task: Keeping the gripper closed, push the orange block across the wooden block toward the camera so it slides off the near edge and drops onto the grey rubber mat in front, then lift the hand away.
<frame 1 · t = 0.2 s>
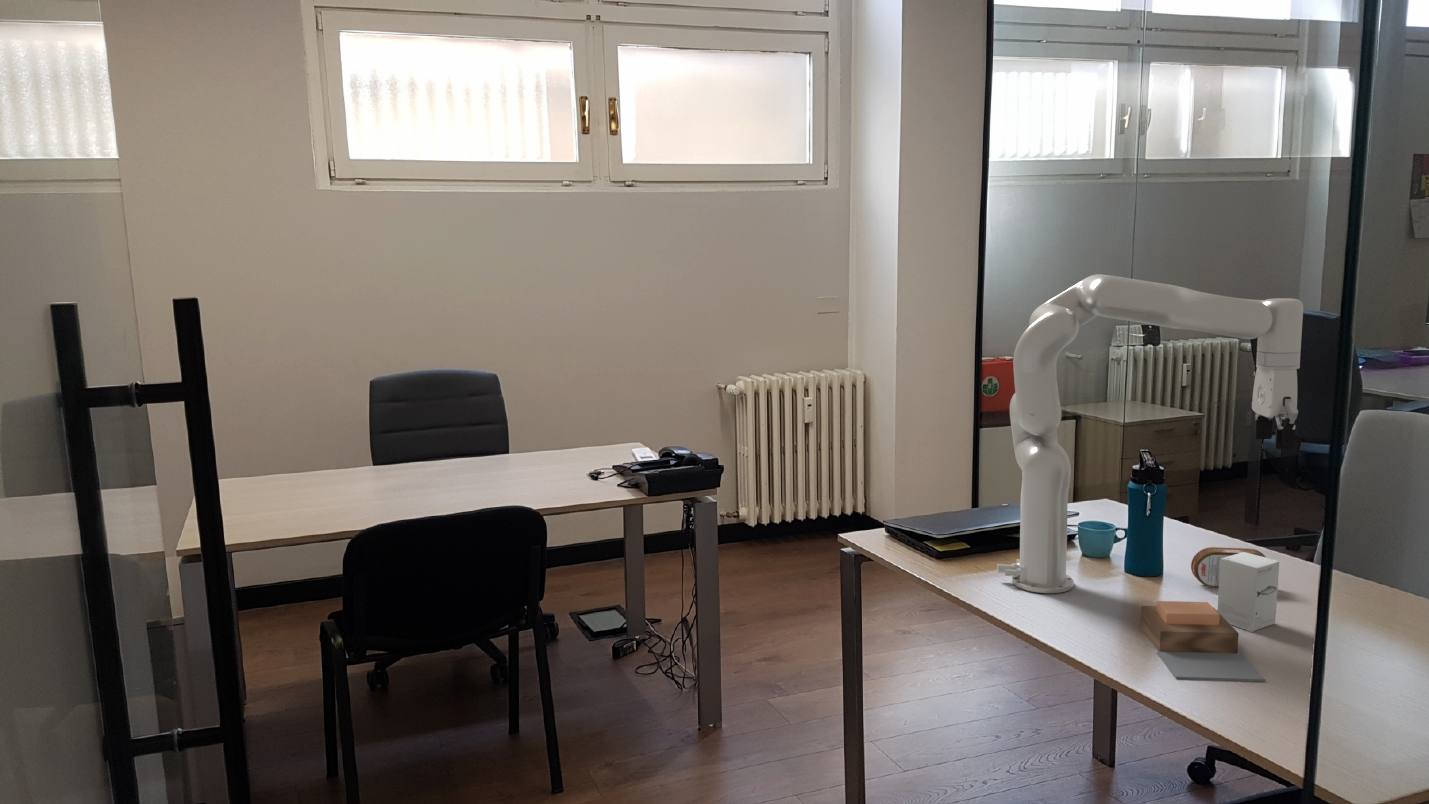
hand: (1273, 443, 192), 31 cm above the table, fingers open, 9 cm apart
mat: (1209, 666, 162), on the table
wooden block: (1186, 639, 173), on the table
supplement box: (1245, 623, 180), on the table
orange block: (1186, 617, 173), point 4 cm above the table, touching wooden block
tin: (1230, 588, 198), on the table
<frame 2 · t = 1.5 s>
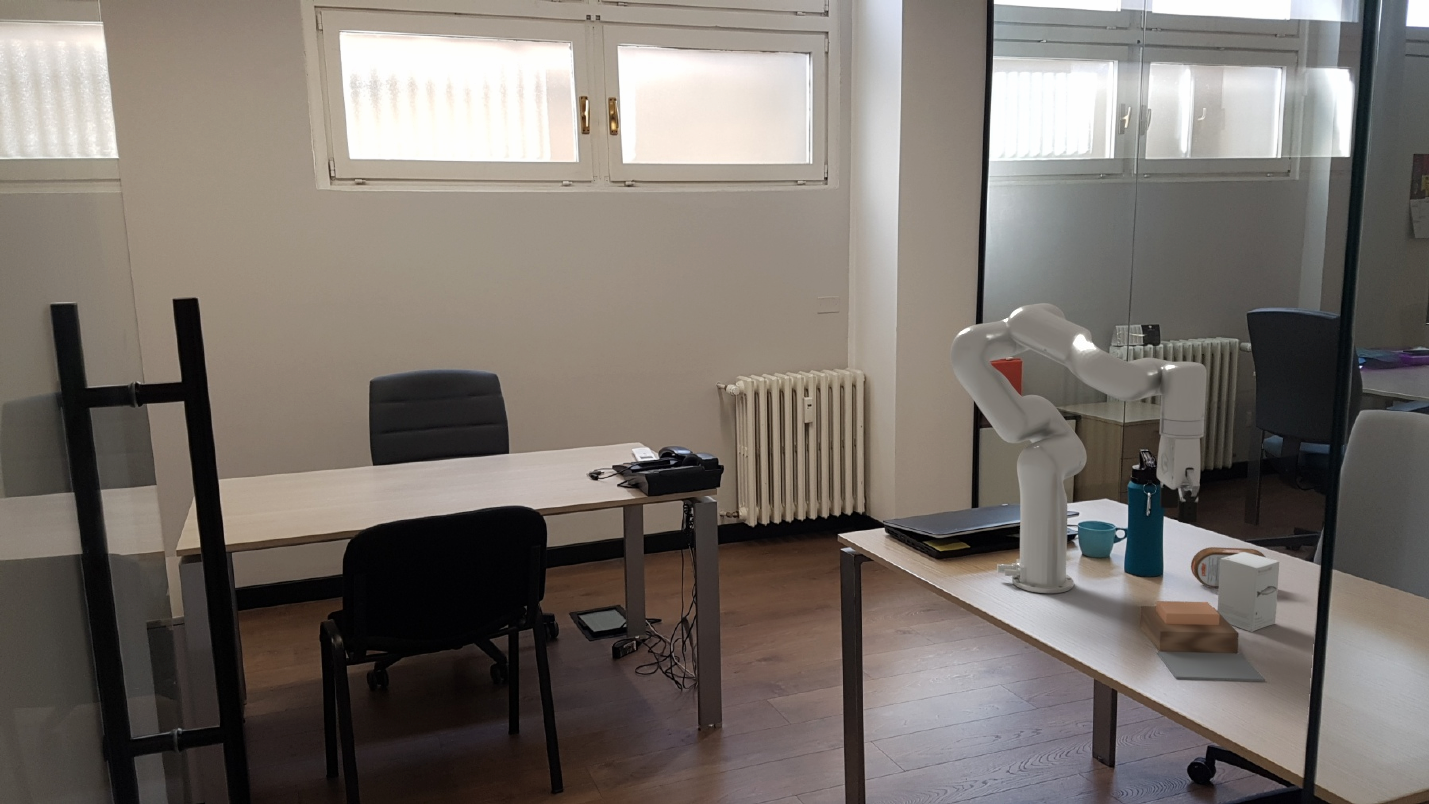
hand: (1177, 514, 181), 21 cm above the table, fingers open, 9 cm apart
nothing on the table moved.
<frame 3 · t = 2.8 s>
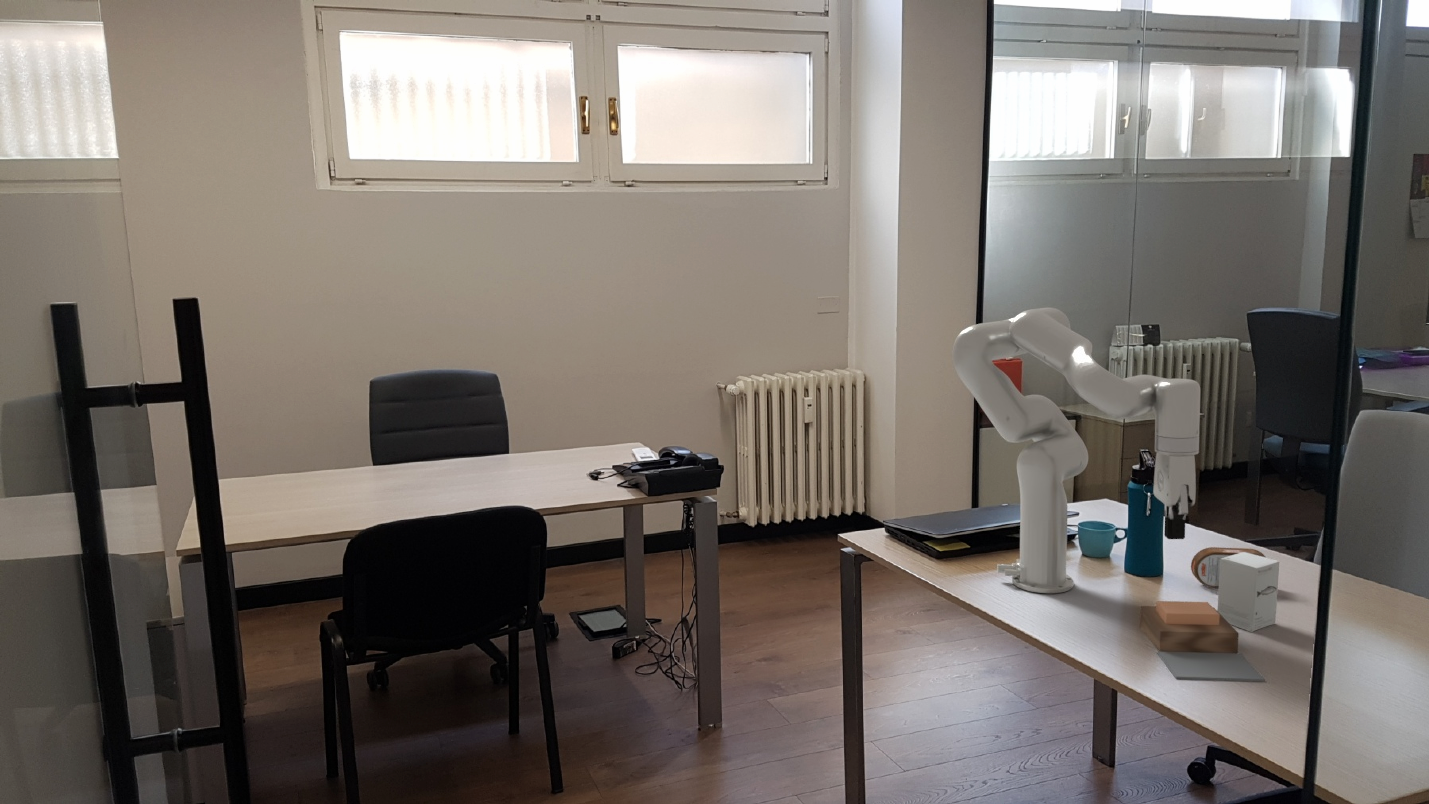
hand: (1174, 537, 181), 16 cm above the table, fingers closed
nothing on the table moved.
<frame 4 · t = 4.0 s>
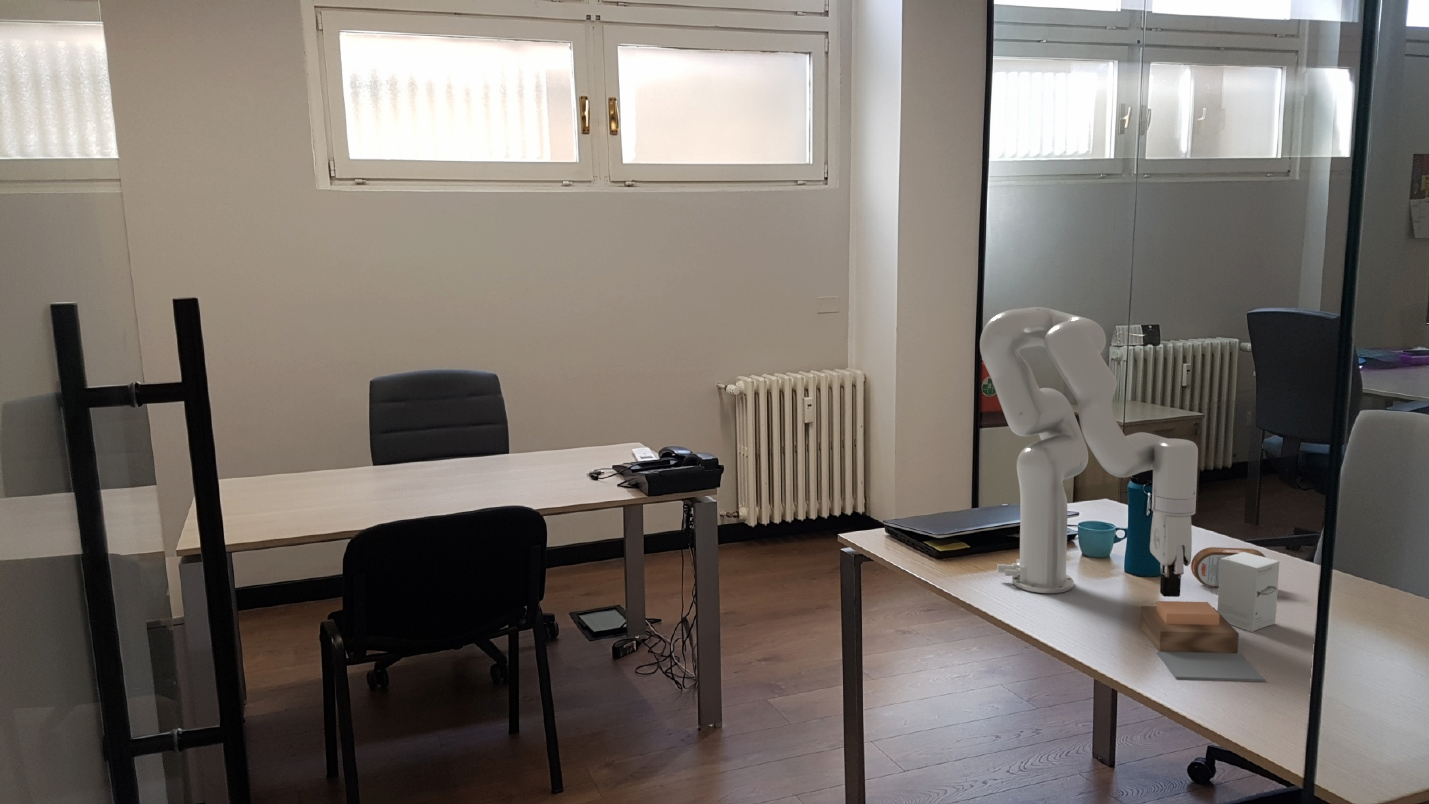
hand: (1169, 594, 183), 5 cm above the table, fingers closed
nothing on the table moved.
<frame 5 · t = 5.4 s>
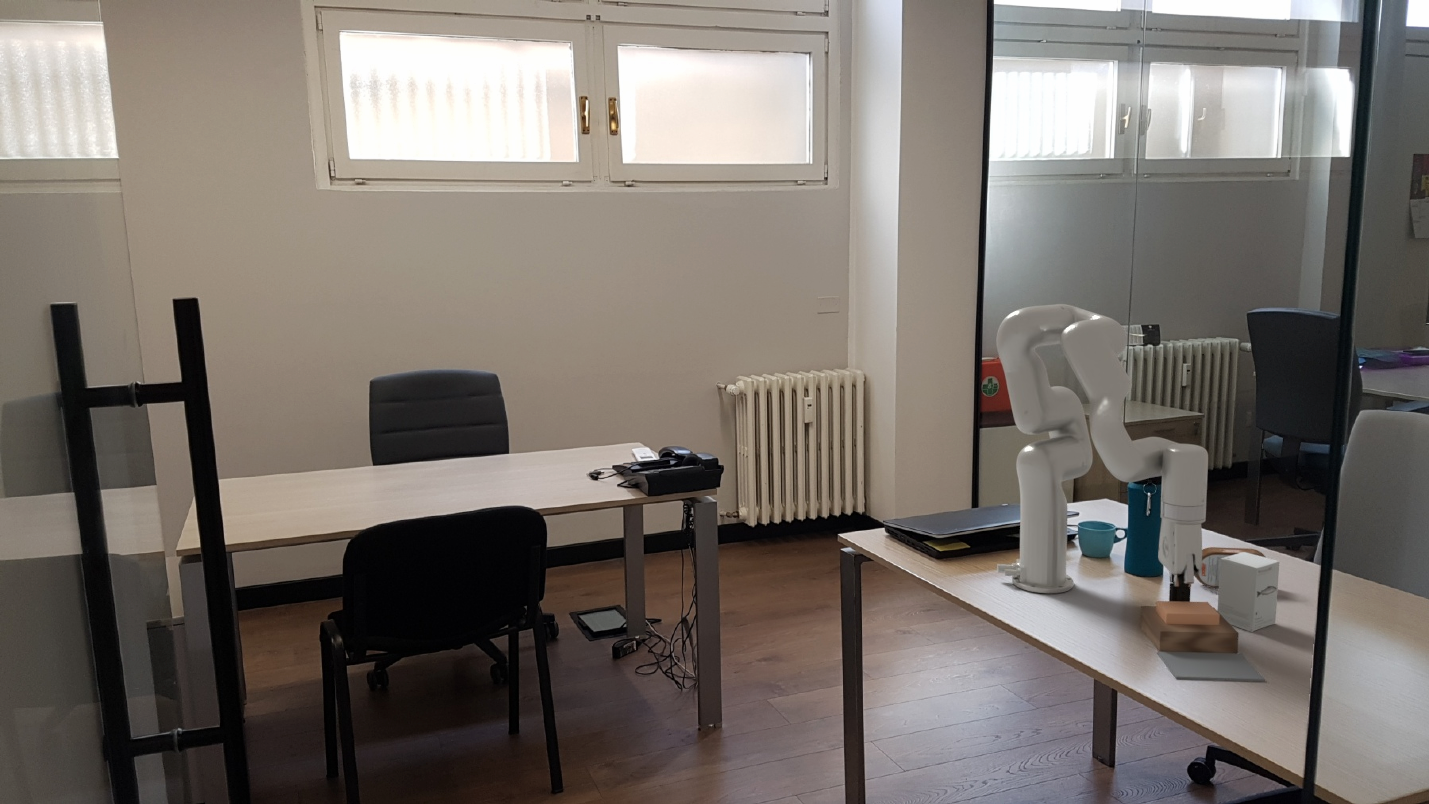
hand: (1179, 604, 178), 5 cm above the table, fingers closed
orange block: (1186, 617, 173), point 4 cm above the table, touching wooden block, gripper
everything else where it was.
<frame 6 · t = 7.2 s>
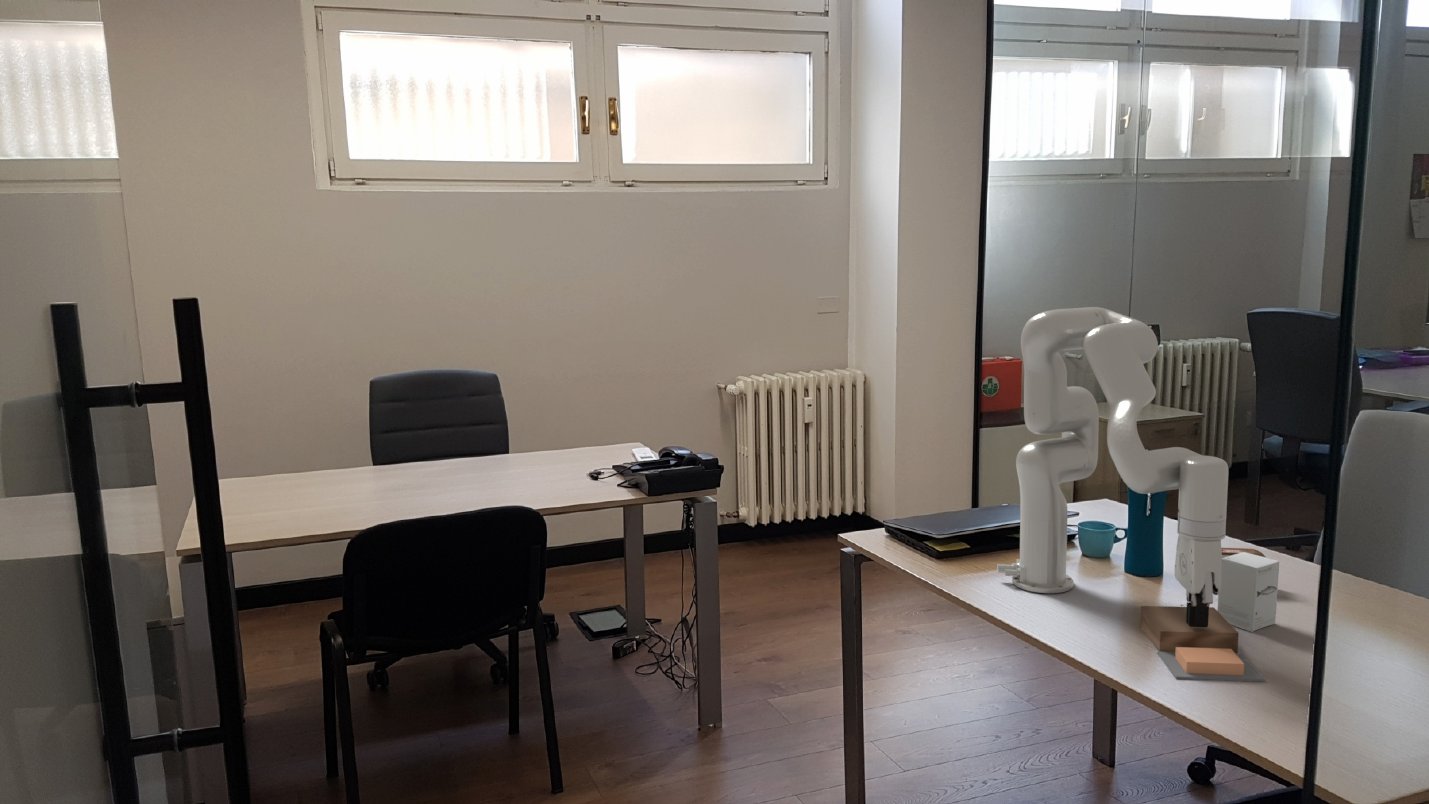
hand: (1196, 625, 168), 5 cm above the table, fingers closed
orange block: (1209, 655, 161), point 2 cm above the table, tilted 180°, touching mat
everything else where it was.
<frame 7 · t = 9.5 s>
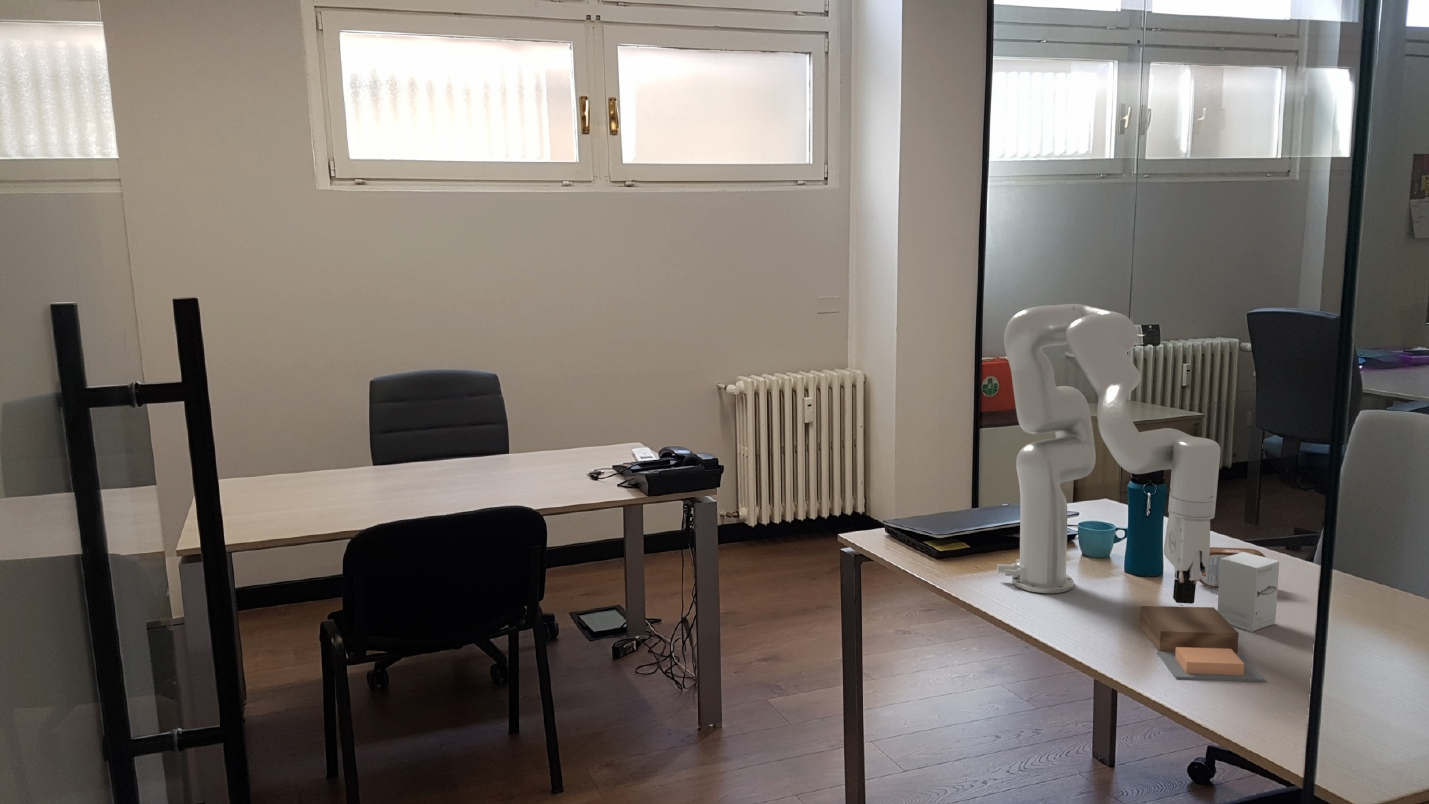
hand: (1183, 601, 173), 7 cm above the table, fingers closed
nothing on the table moved.
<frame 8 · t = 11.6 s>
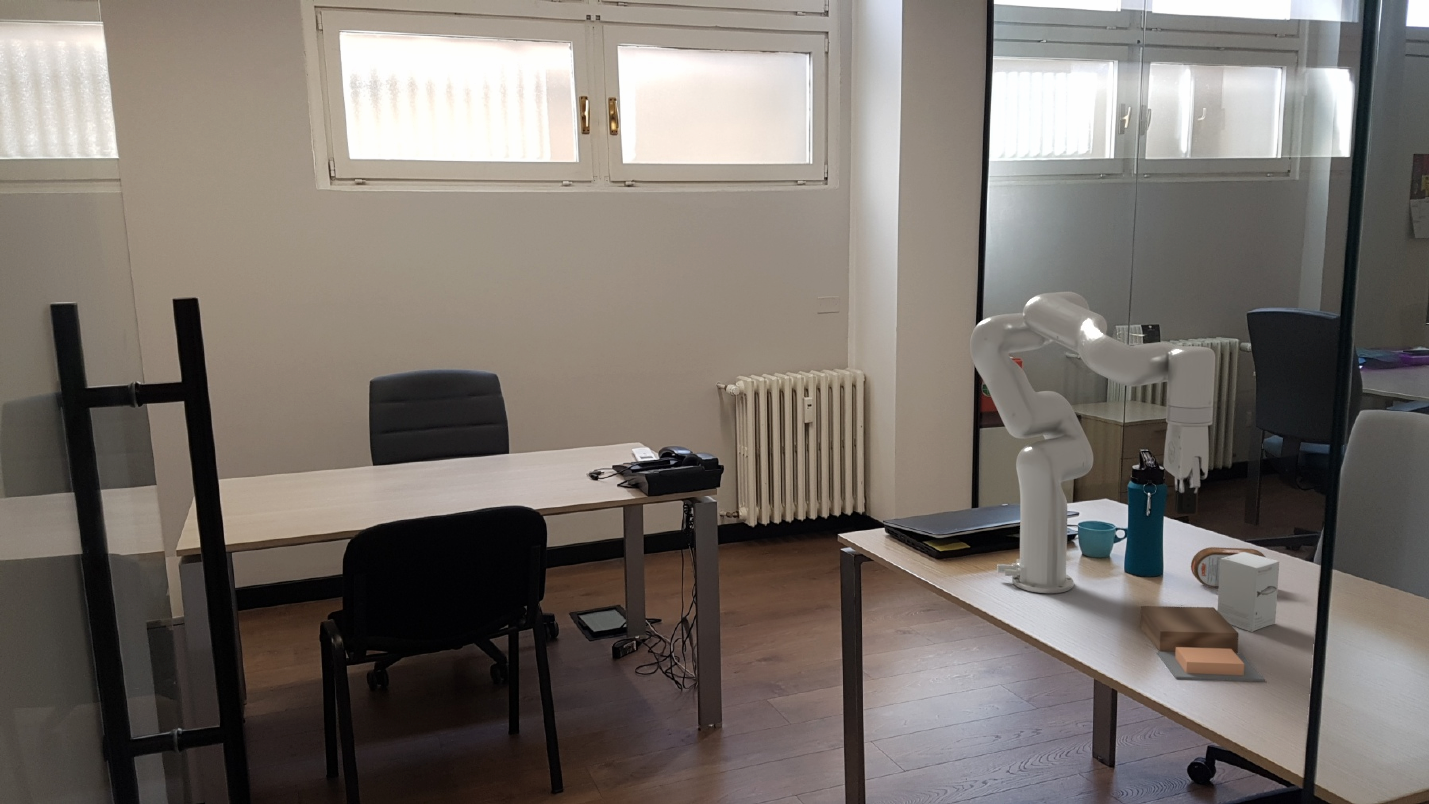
hand: (1184, 512, 173), 23 cm above the table, fingers closed
nothing on the table moved.
at the end: orange block point 2.4 cm above the table; orange block inside the target area on the mat (0.7 cm from its centre), point 2.4 cm above the mat's base; orange block moved 12.7 cm from its start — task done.
